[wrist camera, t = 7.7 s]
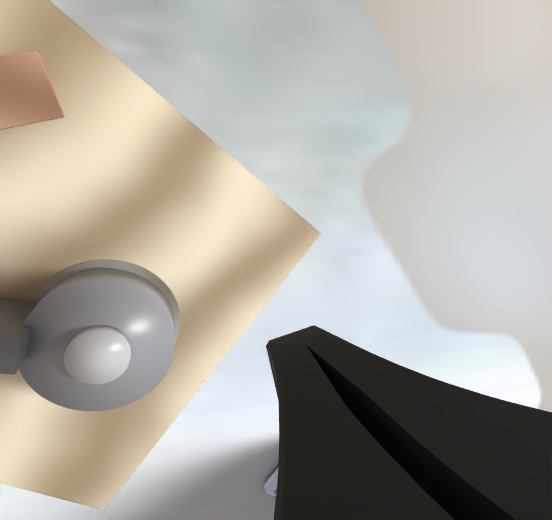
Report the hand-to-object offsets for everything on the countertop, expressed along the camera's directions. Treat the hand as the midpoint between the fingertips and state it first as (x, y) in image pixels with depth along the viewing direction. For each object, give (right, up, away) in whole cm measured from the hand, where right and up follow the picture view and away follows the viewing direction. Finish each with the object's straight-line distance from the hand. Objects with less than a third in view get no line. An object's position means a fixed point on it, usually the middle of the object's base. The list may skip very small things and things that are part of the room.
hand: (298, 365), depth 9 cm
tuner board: (-11, +2, +7) cm, 13 cm away
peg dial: (-11, 0, +6) cm, 13 cm away
